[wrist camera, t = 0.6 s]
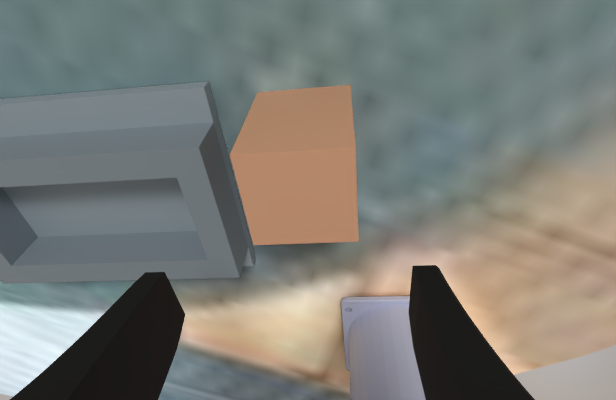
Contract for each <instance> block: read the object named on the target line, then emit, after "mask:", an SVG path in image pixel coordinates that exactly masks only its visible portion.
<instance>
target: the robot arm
mask: <svg viewBox="0 0 616 400" xmlns="http://www.w3.org/2000/svg"><path fill="white" fill-rule="evenodd" d="M341 309H342V321H343V334H344V346H345V358H346V368H347V370H349V371H350V396H351V400H535V399H534V398H533V397H532V396H531V395H530V394H529V393H528V392H527V391H526V389H525V388H524V387H523V386H522V385H521V383H520V382H519V381H518V380H517V379H516V378H515V376H514V375H513V374H512V373H511V371H510V370H509V369H508V368H507V366H506V365H505V364H504V363H503V361H502V360H501V359H500V358H499V356H498V355H497V354H496V352H495V351H494V350H493V349H492V347H491V346H490V345H489V343H488V342H487V341H486V339H485V338H484V337H483V335H482V334H481V332H480V331H479V330H478V328H477V327H476V325H475V324H474V323H473V321H472V320H471V318H470V317H469V316H468V314H467V313H466V311H465V310H464V308H463V307H462V305H461V304H460V302H459V301H458V299H457V298H456V296H455V294H454V293H453V291H452V290H451V288H450V286H449V285H448V283H447V281H446V280H445V278H444V276H443V274H442V273H441V271H440V269H439V268H438V267H437V266H436V265H432V266H413V269H412V280H411V290H410V296H375V297H345V298H343V299H342V300H341ZM184 317H185V313H184V311H183V309H182V307H181V305H180V303H179V301H178V299H177V297H176V295H175V292H174V290H173V288H172V286H171V284H170V282H169V280H168V278H167V276H166V274H165V272H145V273H144V274H143V275H142V276H141V277H140V278H139V279H138V280H137V281H136V282H135V283H134V284H133V285H132V286H131V287H130V288H129V289H128V290H127V291H126V292H125V293H124V294H123V295H122V296H121V297H120V298H119V299H118V300H117V301H116V302H115V303H114V304H113V305H112V306H111V307H110V308H109V309H108V310H107V311H106V312H105V313H104V314H103V315H102V316H101V317H100V318H99V319H98V320H97V321H96V322H95V323H94V324H93V325H92V326H91V327H90V328H89V329H88V330H87V331H86V332H85V333H84V334H83V335H82V336H81V337H80V338H79V339H78V340H77V341H76V342H75V343H74V344H73V345H72V346H71V347H70V348H68V349H67V350H66V351H65V352H64V353H63V354H62V355H61V356H60V357H59V358H58V359H57V360H56V361H54V362H53V363H52V364H51V365H50V366H49V367H48V368H47V369H46V370H45V371H43V372H42V373H41V374H40V375H39V376H38V377H37V378H35V379H34V380H33V381H32V382H31V383H30V384H28V385H27V386H26V387H25V388H23V389H22V390H21V391H20V392H19V393H17V394H16V395H15V396H14V397H13V398H12V399H10V400H158V398H159V395H160V393H161V390H162V387H163V385H164V382H165V379H166V377H167V374H168V371H169V369H170V366H171V363H172V361H173V358H174V355H175V352H176V350H177V346H178V342H179V339H180V335H181V331H182V326H183V322H184Z"/></svg>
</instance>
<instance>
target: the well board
mask: <svg viewBox="0 0 616 400" xmlns="http://www.w3.org/2000/svg"><path fill="white" fill-rule="evenodd" d="M254 261H255V254H254V250H253V247H252V243H251V239H250V235H249V232H248V228H247V224H246V220H245V216H244V213H243V209H242V205H241V201H240V198H239V194H238V190H237V186H236V183H235V179H234V175H233V171H232V168H231V164H230V160H229V156H228V153H227V149H226V145H225V141H224V138H223V134H222V130H221V126H220V123H219V119H218V115H217V111H216V107H215V104H214V100H213V96H212V92H211V89H210V85H209V81H207V82H195V83H183V84H171V85H160V86H148V87H136V88H124V89H112V90H100V91H89V92H77V93H65V94H53V95H41V96H29V97H17V98H6V99H0V280H1V281H2V282H3V283H42V282H83V281H124V280H138V279H139V278H140V277H141V276H142V275H143V274H144V273H145V272H165V274H166V276H167V278H168V279H207V278H240V275H241V271H242V268H243V267H246V266H253V265H254Z"/></svg>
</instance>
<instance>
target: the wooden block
mask: <svg viewBox="0 0 616 400" xmlns="http://www.w3.org/2000/svg"><path fill="white" fill-rule="evenodd" d="M230 157H231V161H232V165H233V169H234V173H235V176H236V180H237V184H238V188H239V192H240V196H241V199H242V203H243V207H244V211H245V215H246V218H247V222H248V226H249V230H250V234H251V237H252V241H253V245H275V244H304V243H333V242H359V238H358V207H357V176H356V146H355V134H354V122H353V110H352V97H351V85H344V86H331V87H319V88H306V89H294V90H281V91H269V92H257V95H256V97H255V99H254V101H253V104H252V106H251V108H250V110H249V113H248V115H247V117H246V119H245V122H244V124H243V126H242V128H241V131H240V133H239V135H238V137H237V140H236V142H235V144H234V146H233V149H232V151H231V153H230Z"/></svg>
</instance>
